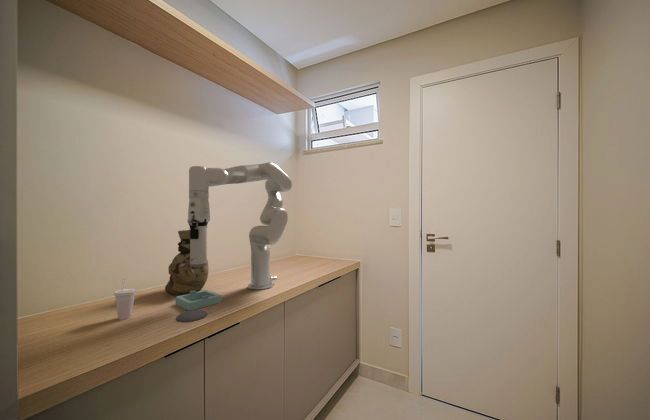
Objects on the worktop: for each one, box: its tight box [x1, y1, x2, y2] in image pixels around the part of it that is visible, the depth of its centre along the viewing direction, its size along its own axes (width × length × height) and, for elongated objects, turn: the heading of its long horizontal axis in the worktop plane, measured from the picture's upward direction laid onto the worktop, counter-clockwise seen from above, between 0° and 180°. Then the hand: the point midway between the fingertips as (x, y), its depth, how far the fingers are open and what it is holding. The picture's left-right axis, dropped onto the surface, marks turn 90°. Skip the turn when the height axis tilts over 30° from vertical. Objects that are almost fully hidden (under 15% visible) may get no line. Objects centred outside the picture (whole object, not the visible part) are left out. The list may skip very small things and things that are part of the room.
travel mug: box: [190, 219, 208, 267], centre depth 108 cm, size 6×7×20 cm
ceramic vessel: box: [164, 229, 210, 297], centre depth 127 cm, size 19×21×30 cm
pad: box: [176, 309, 208, 323], centre depth 94 cm, size 10×10×1 cm
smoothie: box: [113, 278, 137, 321], centre depth 94 cm, size 6×6×14 cm
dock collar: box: [175, 289, 222, 311], centre depth 109 cm, size 13×13×4 cm
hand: (198, 237), depth 109 cm, fingers closed on travel mug, 6 cm apart
